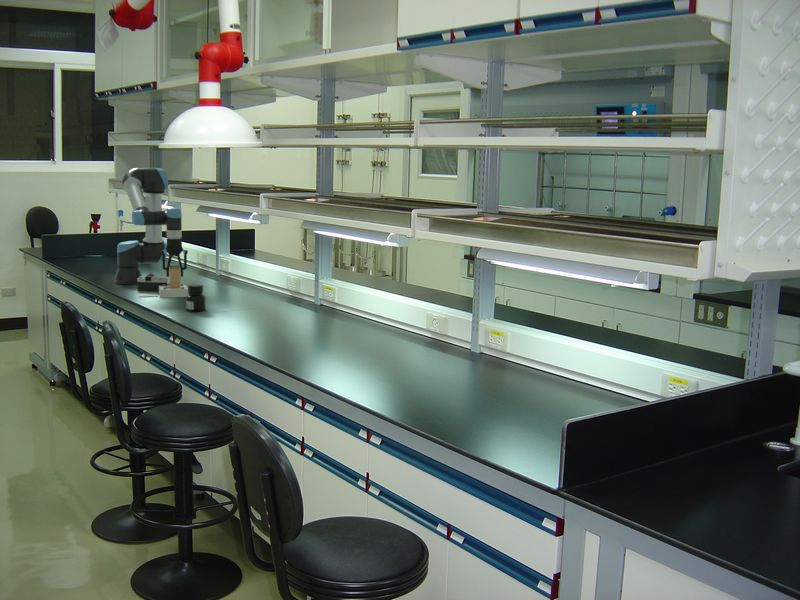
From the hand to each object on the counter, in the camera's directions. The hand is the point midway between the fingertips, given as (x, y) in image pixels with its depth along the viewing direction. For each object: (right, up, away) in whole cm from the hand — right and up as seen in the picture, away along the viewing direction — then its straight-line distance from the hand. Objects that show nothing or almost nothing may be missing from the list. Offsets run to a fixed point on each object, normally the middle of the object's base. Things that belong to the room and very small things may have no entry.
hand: (174, 282), depth 419 cm
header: (-1, -6, +1) cm, 6 cm away
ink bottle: (+21, -14, -39) cm, 47 cm away
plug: (0, -5, +1) cm, 5 cm away
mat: (-13, -7, -3) cm, 15 cm away
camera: (-14, -5, +10) cm, 18 cm away
